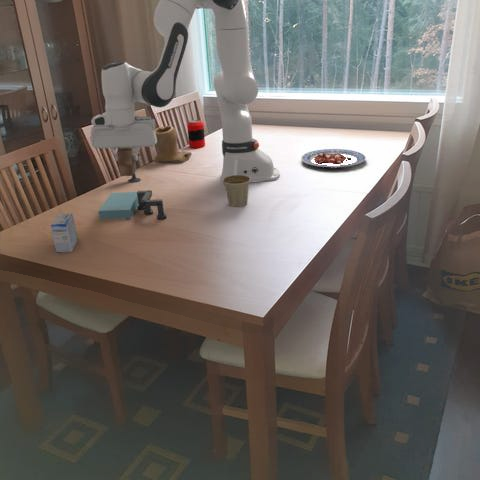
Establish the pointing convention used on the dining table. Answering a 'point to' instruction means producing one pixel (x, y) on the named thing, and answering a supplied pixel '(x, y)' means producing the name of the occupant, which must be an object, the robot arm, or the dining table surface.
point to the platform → (119, 206)
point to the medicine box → (64, 232)
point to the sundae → (134, 178)
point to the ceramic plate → (332, 157)
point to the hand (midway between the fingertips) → (126, 160)
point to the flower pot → (237, 189)
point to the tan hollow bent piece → (168, 146)
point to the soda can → (196, 134)
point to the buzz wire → (150, 204)
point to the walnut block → (126, 161)
